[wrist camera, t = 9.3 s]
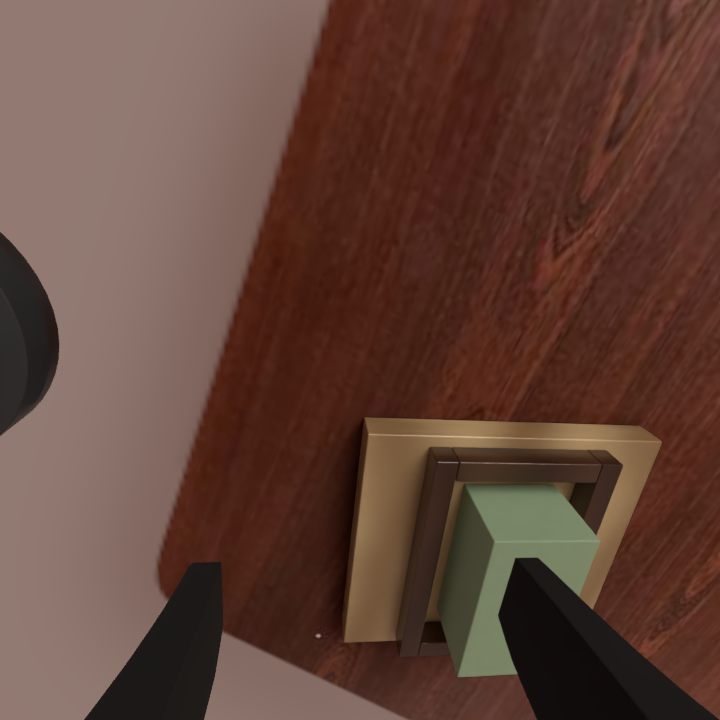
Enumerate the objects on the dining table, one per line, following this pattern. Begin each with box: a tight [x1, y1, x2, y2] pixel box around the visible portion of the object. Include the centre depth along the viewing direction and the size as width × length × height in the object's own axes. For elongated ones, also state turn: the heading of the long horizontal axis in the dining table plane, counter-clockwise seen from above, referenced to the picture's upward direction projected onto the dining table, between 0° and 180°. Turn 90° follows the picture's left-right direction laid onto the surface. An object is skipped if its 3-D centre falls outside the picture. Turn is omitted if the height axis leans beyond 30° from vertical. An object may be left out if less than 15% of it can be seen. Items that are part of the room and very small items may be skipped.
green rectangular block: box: [437, 484, 600, 677], centre depth 19 cm, size 4×8×4 cm, turn 174°
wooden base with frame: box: [342, 417, 662, 657], centre depth 21 cm, size 14×13×3 cm
